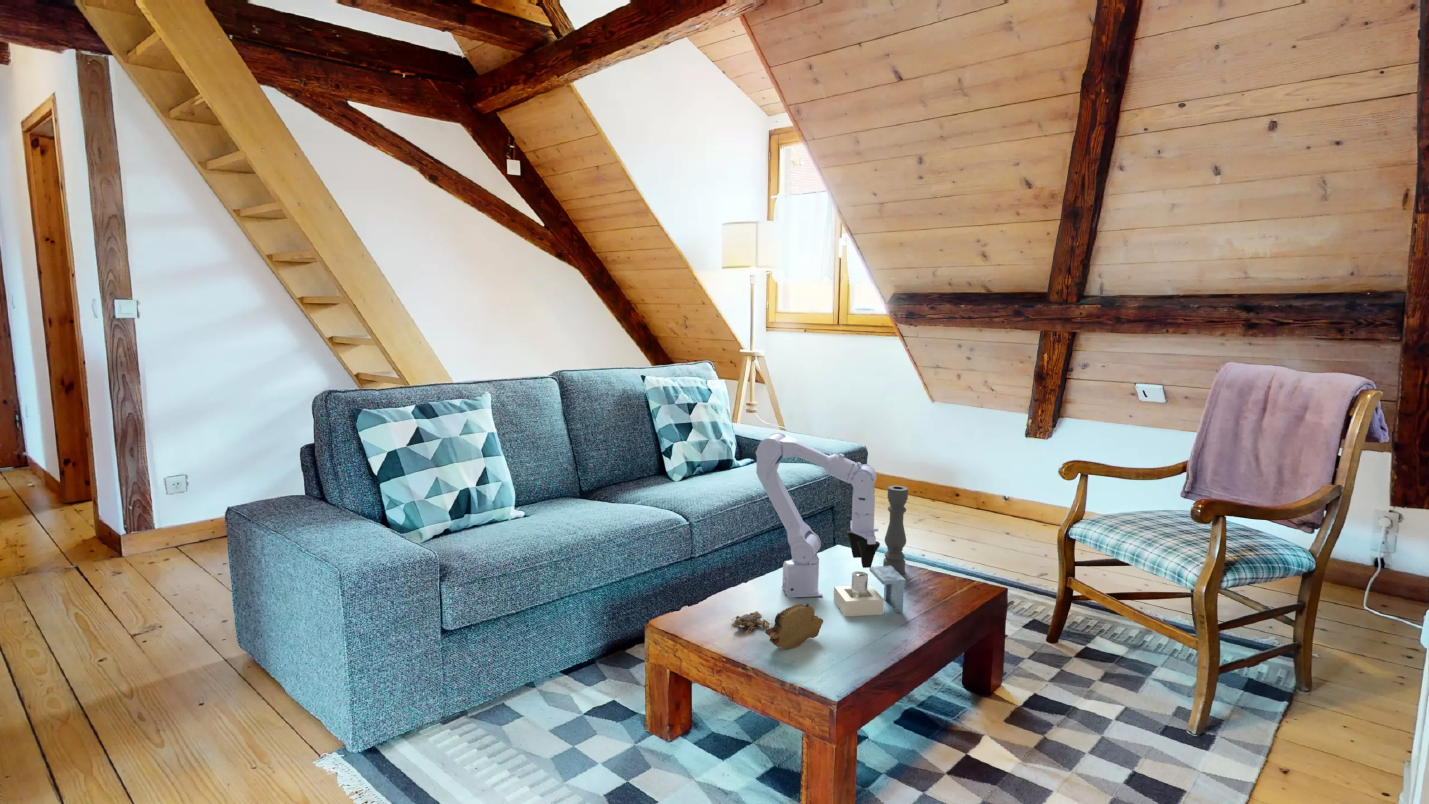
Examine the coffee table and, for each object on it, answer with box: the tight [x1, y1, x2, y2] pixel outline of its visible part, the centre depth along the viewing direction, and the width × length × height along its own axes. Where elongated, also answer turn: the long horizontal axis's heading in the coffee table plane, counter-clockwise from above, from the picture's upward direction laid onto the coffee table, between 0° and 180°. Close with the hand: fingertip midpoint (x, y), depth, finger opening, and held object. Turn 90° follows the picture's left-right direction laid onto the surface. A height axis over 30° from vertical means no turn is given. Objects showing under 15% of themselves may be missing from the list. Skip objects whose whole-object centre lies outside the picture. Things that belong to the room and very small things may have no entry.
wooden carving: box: [764, 603, 824, 650], centre depth 186 cm, size 16×5×10 cm, turn 131°
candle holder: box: [882, 485, 909, 576], centre depth 233 cm, size 6×6×25 cm
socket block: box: [833, 584, 885, 617], centre depth 209 cm, size 10×10×4 cm
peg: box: [851, 571, 869, 598], centre depth 208 cm, size 4×4×8 cm
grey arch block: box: [869, 565, 907, 614], centre depth 209 cm, size 6×10×9 cm, turn 9°
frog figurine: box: [729, 610, 773, 635], centre depth 197 cm, size 12×12×4 cm
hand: (861, 562), depth 212 cm, fingers open, 7 cm apart
